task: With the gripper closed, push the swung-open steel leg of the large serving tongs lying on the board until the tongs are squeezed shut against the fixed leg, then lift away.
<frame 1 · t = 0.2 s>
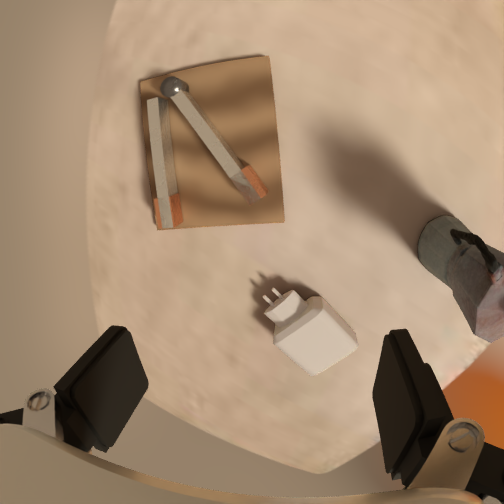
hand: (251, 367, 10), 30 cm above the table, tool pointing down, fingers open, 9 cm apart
moka pot: (439, 242, 36), on the table
tong leg: (211, 135, 33), point 3 cm above the table, hinge at 30.0°
board: (209, 144, 36), on the table
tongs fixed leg: (180, 90, 33), resting on board
charger: (303, 316, 43), on the table
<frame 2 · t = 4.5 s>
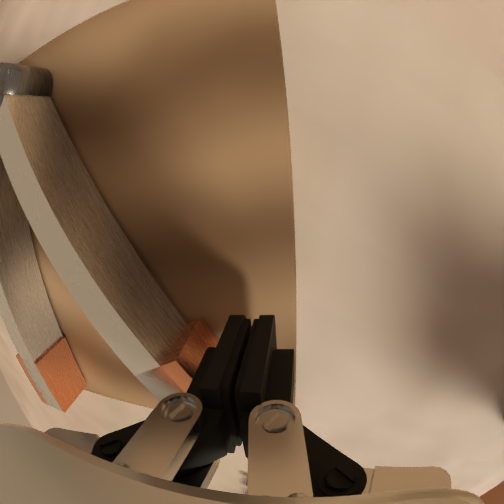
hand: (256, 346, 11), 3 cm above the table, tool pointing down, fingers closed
tong leg: (81, 232, 10), point 3 cm above the table, hinge at 28.2°, touching gripper
board: (106, 232, 13), on the table
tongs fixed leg: (38, 94, 10), resting on board
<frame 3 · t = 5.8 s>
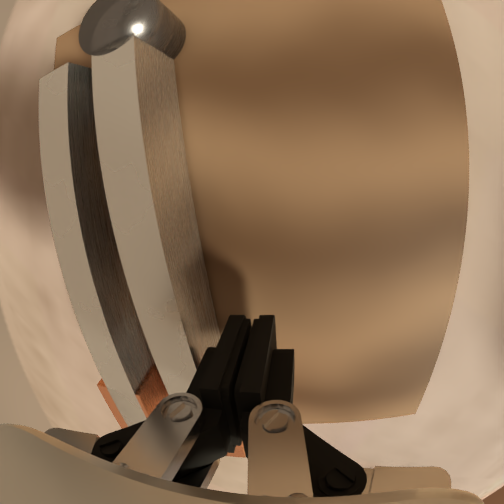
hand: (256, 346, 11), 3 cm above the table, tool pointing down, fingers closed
tong leg: (168, 255, 10), point 3 cm above the table, hinge at 3.2°, touching gripper
board: (250, 223, 12), on the table
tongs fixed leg: (155, 43, 9), resting on board
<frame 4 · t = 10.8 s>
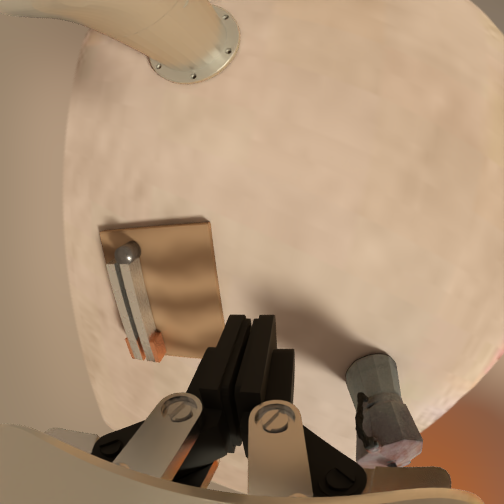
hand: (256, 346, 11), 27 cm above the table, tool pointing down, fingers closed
moka pot: (368, 370, 42), on the table
tong leg: (140, 305, 41), point 3 cm above the table, hinge at -0.5°
board: (164, 295, 43), on the table
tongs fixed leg: (133, 249, 40), resting on board
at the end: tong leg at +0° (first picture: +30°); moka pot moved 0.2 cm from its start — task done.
